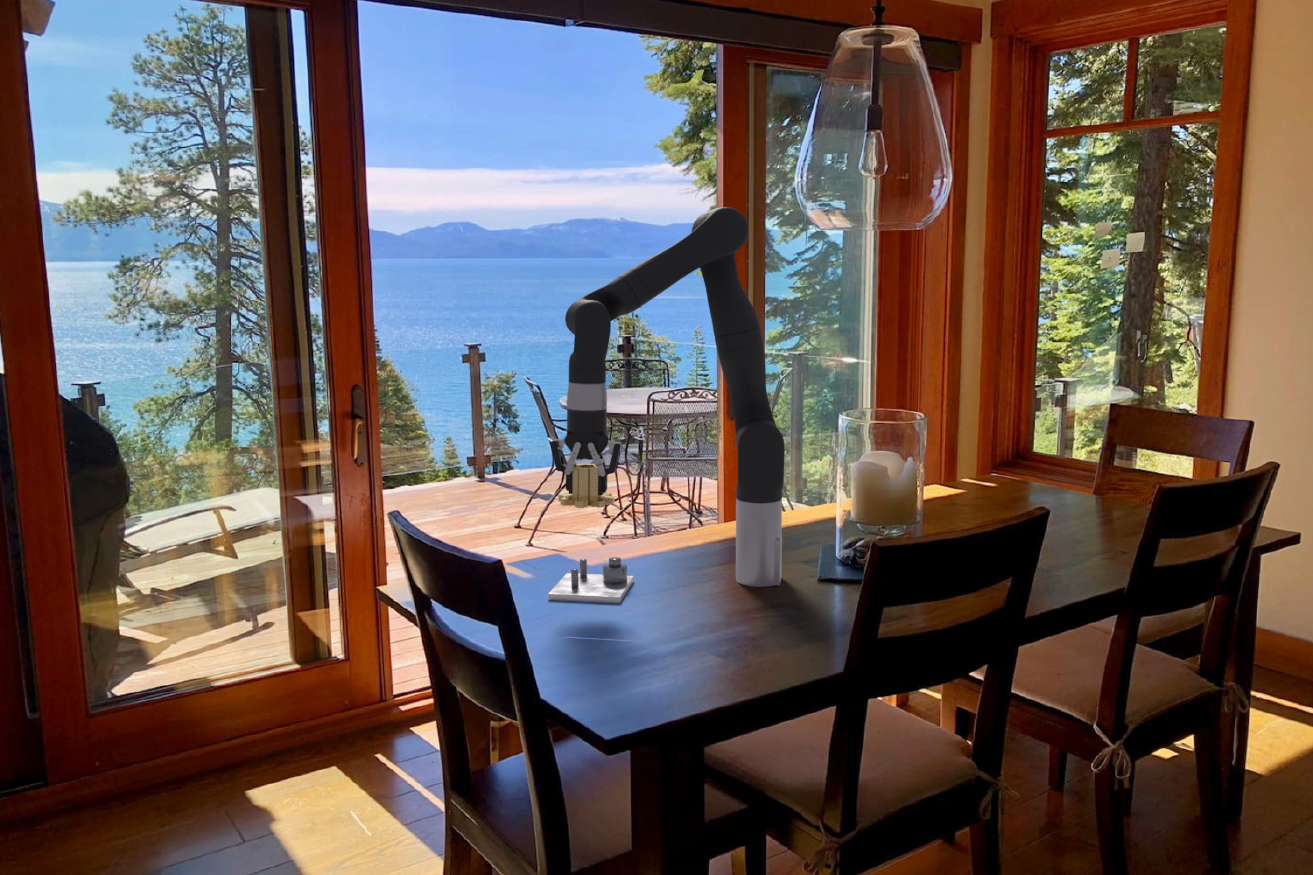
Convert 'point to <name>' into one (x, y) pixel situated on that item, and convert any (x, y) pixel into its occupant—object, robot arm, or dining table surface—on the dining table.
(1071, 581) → the dining table surface
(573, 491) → the planet gear
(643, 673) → the dining table surface
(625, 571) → the plate
